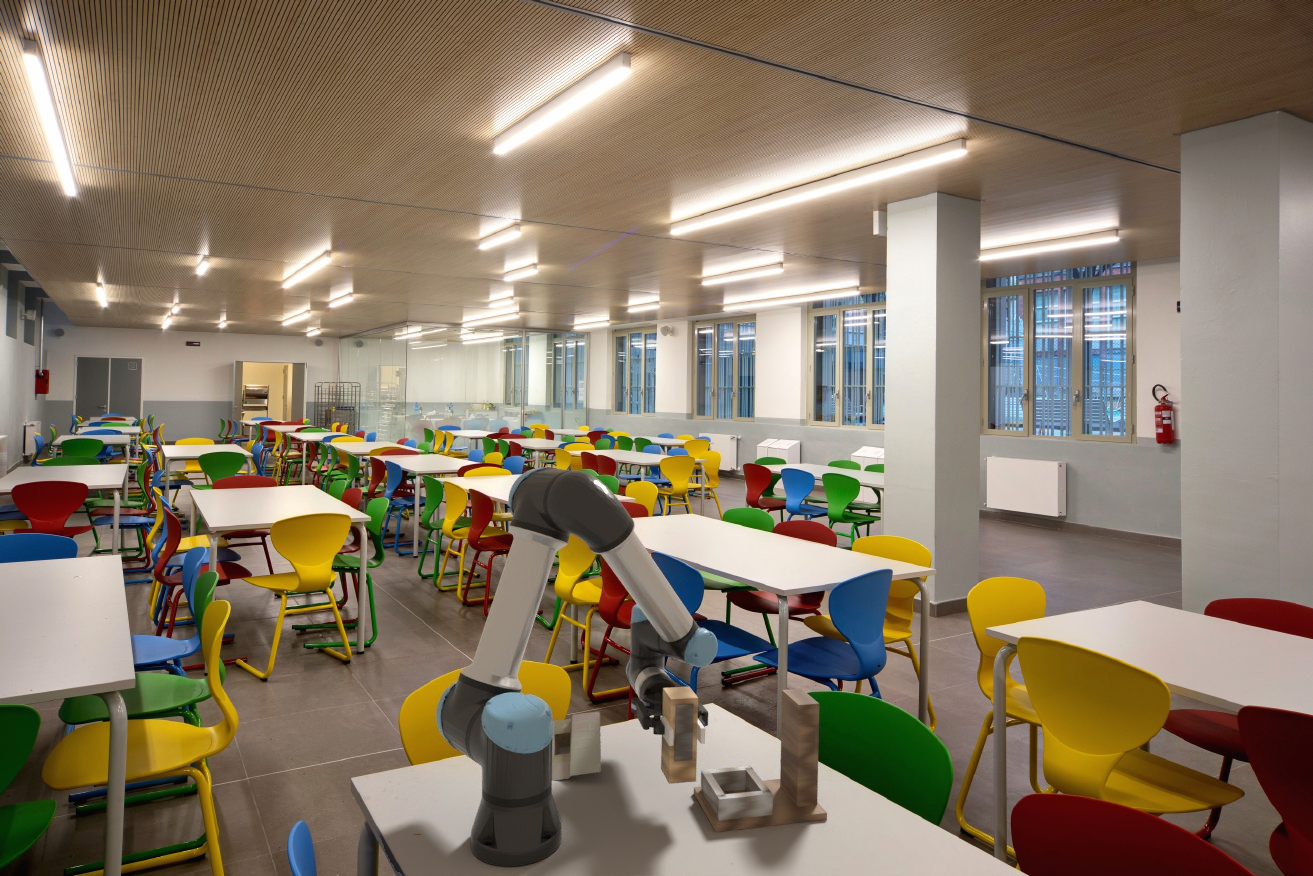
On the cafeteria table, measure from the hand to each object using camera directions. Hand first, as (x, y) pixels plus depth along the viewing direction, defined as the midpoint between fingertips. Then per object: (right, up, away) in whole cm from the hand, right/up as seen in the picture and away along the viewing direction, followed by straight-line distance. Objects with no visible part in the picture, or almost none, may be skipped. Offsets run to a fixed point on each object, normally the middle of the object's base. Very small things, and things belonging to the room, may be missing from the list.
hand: (687, 737), depth 133 cm
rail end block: (-1, -9, +5) cm, 10 cm away
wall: (-24, -16, +24) cm, 38 cm away
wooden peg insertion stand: (+14, -16, +9) cm, 23 cm away
